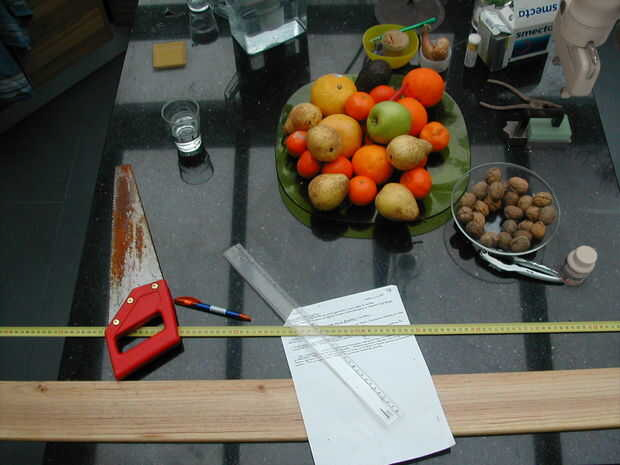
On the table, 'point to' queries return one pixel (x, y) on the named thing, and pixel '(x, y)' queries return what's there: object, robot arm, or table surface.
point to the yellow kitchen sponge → (169, 54)
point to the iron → (539, 130)
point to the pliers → (532, 102)
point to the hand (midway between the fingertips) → (560, 79)
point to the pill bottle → (577, 265)
